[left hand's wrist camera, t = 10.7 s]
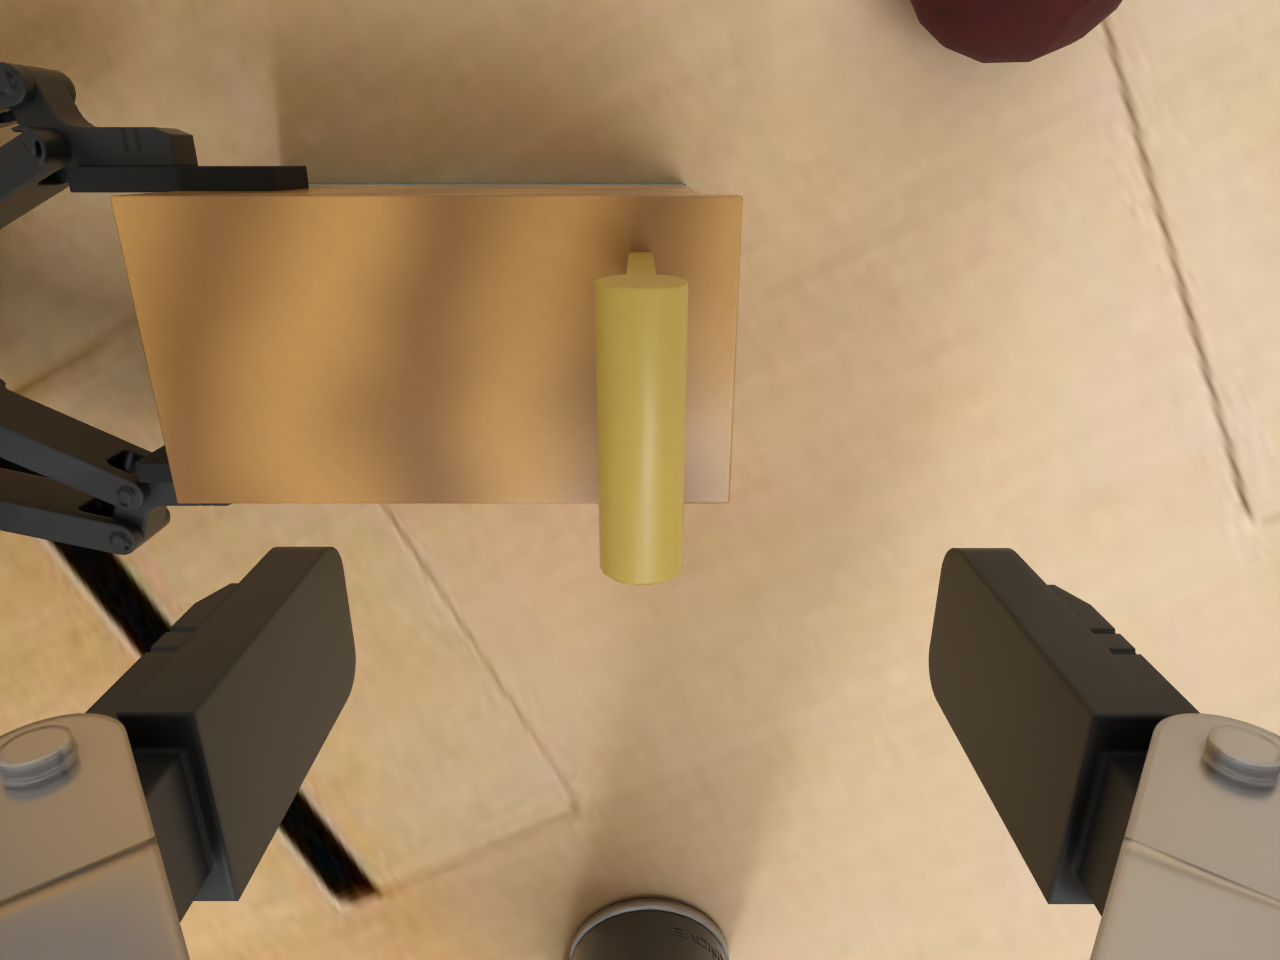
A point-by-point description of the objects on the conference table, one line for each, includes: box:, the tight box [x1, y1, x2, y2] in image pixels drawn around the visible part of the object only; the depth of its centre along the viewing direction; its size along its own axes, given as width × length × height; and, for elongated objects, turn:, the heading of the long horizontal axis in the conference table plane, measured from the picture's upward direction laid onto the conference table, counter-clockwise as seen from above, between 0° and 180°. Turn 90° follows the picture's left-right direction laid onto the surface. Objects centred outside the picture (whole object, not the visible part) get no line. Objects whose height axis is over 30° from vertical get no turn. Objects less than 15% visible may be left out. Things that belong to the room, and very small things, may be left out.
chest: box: [133, 184, 701, 195], centre depth 30 cm, size 16×9×11 cm, turn 90°
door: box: [111, 195, 742, 585], centre depth 21 cm, size 17×9×9 cm, turn 90°
